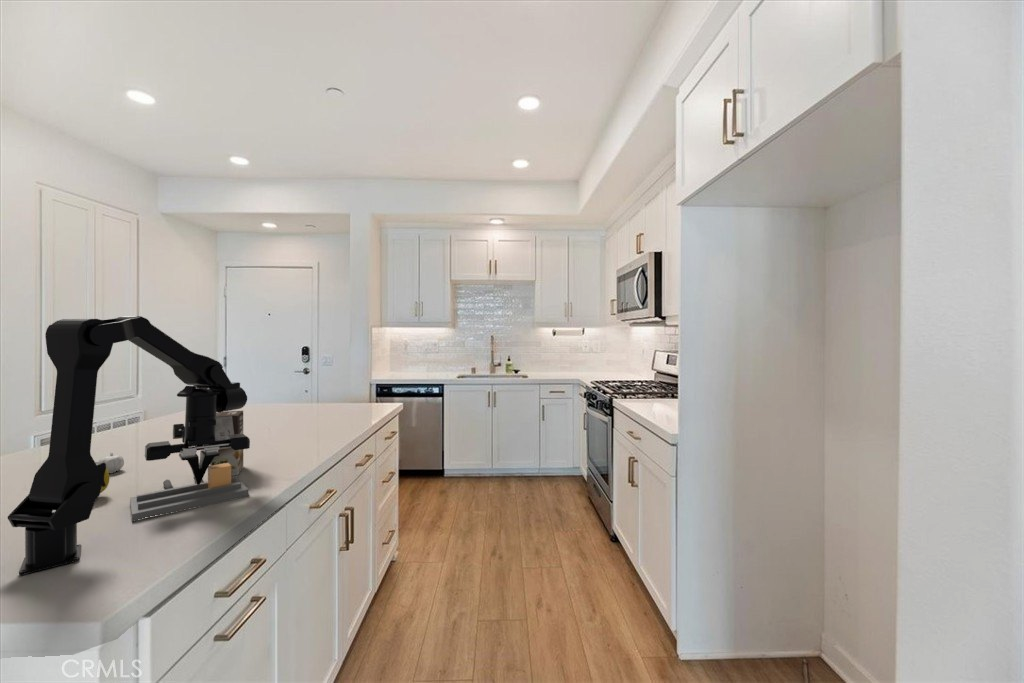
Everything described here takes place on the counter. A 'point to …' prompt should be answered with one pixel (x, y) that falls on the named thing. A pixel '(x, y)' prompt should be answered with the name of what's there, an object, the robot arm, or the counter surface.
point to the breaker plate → (184, 498)
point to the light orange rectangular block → (219, 475)
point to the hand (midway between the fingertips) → (198, 484)
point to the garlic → (113, 462)
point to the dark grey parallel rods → (168, 484)
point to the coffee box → (225, 426)
